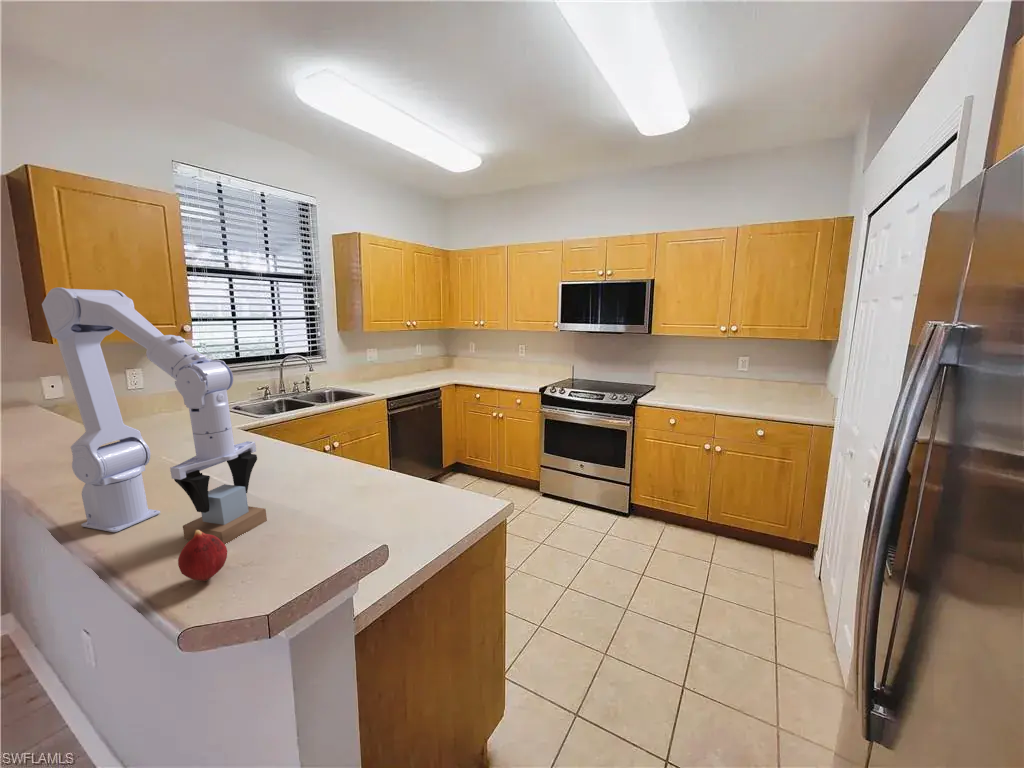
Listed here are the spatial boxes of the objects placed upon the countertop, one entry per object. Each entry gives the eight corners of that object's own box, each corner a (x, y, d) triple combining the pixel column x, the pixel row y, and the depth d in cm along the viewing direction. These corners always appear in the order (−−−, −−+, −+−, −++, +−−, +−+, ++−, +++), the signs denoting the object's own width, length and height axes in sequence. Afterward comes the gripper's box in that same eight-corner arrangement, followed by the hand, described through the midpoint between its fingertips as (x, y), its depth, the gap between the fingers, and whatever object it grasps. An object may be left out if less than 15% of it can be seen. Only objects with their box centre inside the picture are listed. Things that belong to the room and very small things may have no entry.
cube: (202, 521, 76) (198, 495, 75) (228, 508, 81) (224, 484, 80) (224, 524, 75) (220, 498, 74) (248, 511, 79) (245, 486, 79)
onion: (238, 567, 66) (231, 520, 65) (214, 591, 60) (205, 540, 59) (200, 569, 66) (192, 521, 65) (172, 593, 60) (163, 541, 59)
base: (185, 541, 75) (182, 525, 75) (231, 517, 84) (229, 503, 83) (223, 548, 73) (221, 532, 72) (267, 523, 81) (265, 508, 81)
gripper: (188, 443, 67) (200, 523, 69) (264, 420, 81) (273, 487, 83) (156, 440, 69) (169, 518, 71) (236, 418, 83) (245, 484, 85)
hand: (223, 501), depth 77 cm, fingers open, 7 cm apart
